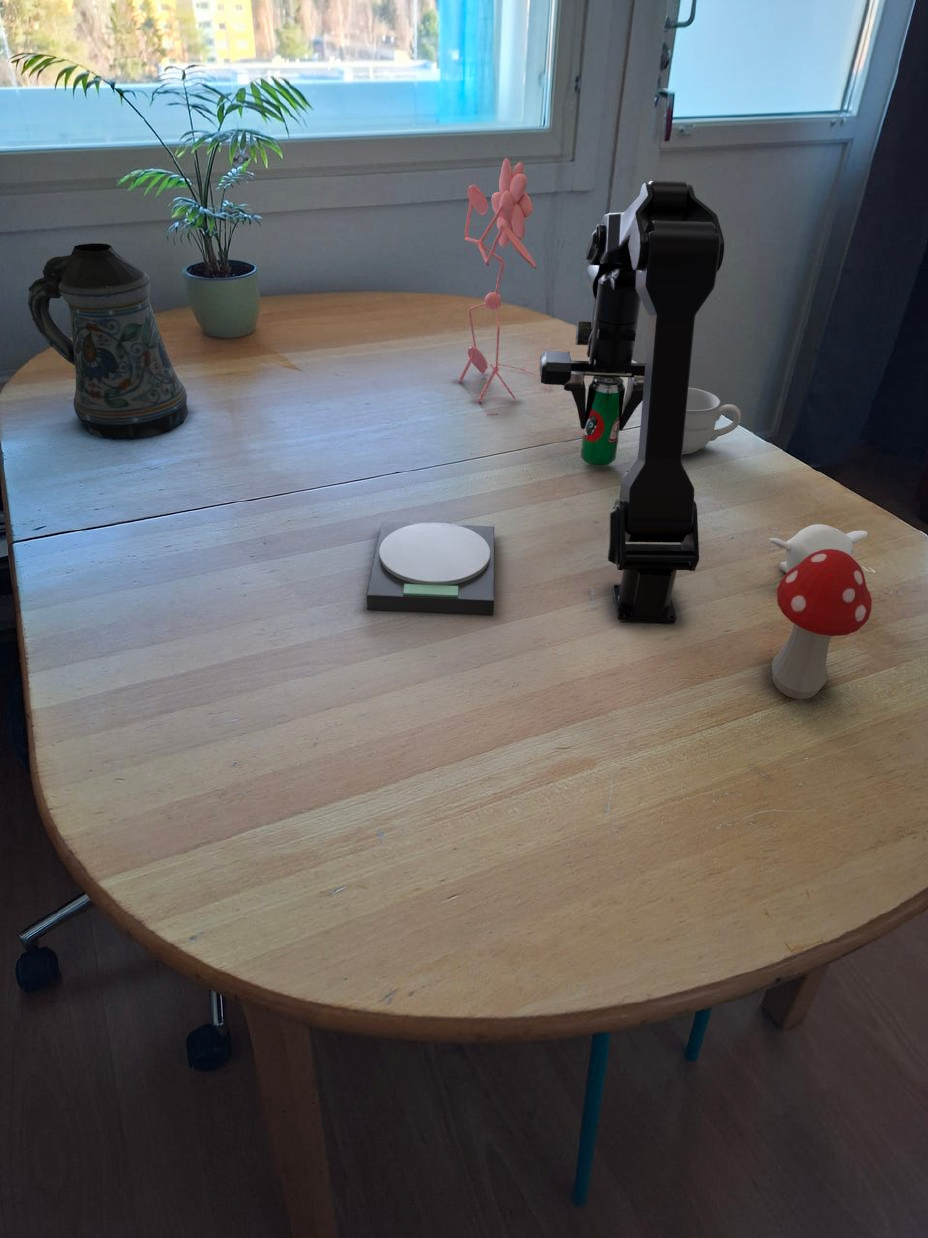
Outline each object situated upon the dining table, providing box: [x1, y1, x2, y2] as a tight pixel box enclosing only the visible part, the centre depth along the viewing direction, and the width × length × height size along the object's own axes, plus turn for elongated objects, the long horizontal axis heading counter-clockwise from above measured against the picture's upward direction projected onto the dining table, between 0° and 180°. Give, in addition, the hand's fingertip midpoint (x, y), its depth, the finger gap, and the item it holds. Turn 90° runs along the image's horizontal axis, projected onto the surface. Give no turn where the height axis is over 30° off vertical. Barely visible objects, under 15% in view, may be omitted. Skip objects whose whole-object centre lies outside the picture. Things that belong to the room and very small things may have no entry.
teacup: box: [682, 386, 742, 455], centre depth 130 cm, size 14×11×8 cm
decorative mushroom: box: [771, 549, 873, 700], centre depth 85 cm, size 10×9×15 cm
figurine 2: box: [768, 523, 876, 574], centre depth 101 cm, size 12×8×10 cm
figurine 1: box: [458, 157, 550, 416], centre depth 139 cm, size 15×26×35 cm, turn 21°
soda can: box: [580, 376, 626, 467], centre depth 123 cm, size 5×5×12 cm
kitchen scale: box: [366, 521, 495, 616], centre depth 102 cm, size 16×14×3 cm
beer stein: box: [27, 242, 189, 440], centre depth 127 cm, size 16×19×25 cm
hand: (601, 428), depth 124 cm, fingers closed on soda can, 5 cm apart
